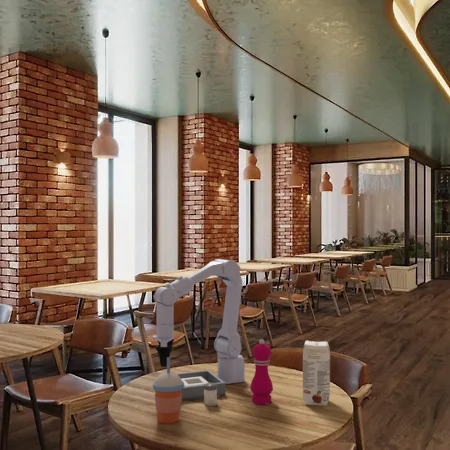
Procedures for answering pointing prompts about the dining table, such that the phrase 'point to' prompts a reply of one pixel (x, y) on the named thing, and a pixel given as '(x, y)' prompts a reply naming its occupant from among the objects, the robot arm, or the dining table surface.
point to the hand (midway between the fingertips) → (165, 363)
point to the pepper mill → (261, 375)
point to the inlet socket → (194, 381)
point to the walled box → (198, 390)
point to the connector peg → (210, 394)
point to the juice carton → (316, 373)
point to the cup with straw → (168, 396)
